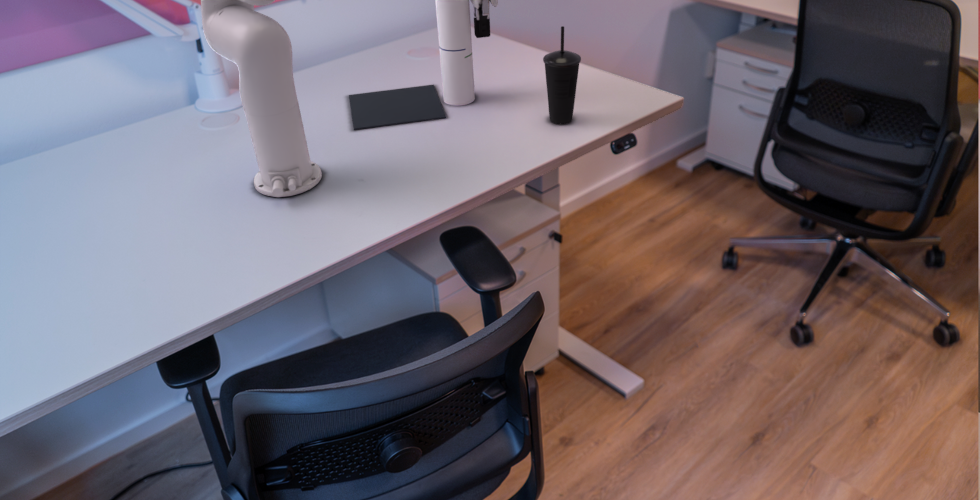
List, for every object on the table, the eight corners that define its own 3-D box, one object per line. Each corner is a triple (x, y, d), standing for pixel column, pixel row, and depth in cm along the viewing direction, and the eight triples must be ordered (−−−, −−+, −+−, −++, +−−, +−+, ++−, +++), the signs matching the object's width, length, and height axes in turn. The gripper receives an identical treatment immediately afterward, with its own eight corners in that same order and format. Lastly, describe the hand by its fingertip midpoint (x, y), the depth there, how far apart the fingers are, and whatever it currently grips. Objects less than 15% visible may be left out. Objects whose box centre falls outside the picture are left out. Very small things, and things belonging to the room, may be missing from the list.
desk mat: (446, 118, 158) (446, 116, 158) (353, 130, 155) (353, 128, 155) (433, 86, 172) (433, 84, 172) (348, 96, 169) (348, 95, 169)
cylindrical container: (438, 96, 167) (429, -15, 153) (467, 90, 170) (460, -20, 155) (450, 108, 162) (441, -6, 147) (479, 101, 164) (473, -12, 150)
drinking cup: (578, 111, 158) (582, 20, 146) (579, 127, 152) (582, 33, 140) (543, 111, 159) (543, 20, 147) (542, 127, 152) (542, 33, 141)
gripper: (504, -46, 142) (507, 46, 153) (488, -63, 154) (492, 23, 165) (467, -42, 141) (472, 50, 152) (454, -60, 153) (459, 27, 164)
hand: (482, 35), depth 159 cm, fingers closed
